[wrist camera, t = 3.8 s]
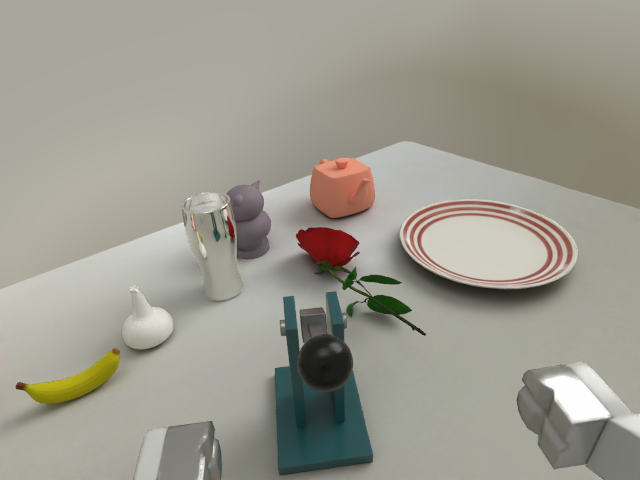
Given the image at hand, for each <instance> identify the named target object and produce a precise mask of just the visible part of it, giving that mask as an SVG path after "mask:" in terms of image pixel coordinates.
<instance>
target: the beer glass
mask: <svg viewBox="0 0 640 480" xmlns="http://www.w3.org/2000/svg"><path fill="white" fill-rule="evenodd" d="M181 207H182V212H183V219H184V226H185V231H186V235H187V238H188V242H189V244H190V247H191V249H192V252H193V254H194V256H195V258H196V260H197V262H198V264H199V267H200V269H201V272H202V275H203V291H204V295H205V296H206V297H207V298H208V299H210V300H214V301H224V300H229V299H231V298H234V297H235V296H237V295H238V294H239V293H240V292H241V291H242V289H243V281H242V279H241V276H240V274H239V271H238V267H237V227H236V221H235V216H234V212H233V209H232V205H231V201H230V197H229V196H228V195H227V194H224V193H221V192H206V193H200V194H196V195H193V196H191V197H189V198H187V199H186V200H184V201H183V203H182V205H181Z"/></svg>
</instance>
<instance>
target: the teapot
mask: <svg viewBox="0 0 640 480" xmlns="http://www.w3.org/2000/svg"><path fill="white" fill-rule="evenodd" d="M310 198H311V201H312V203H313V205H314V206H315V207H317V208H318V209H319V210H320V211H321V212H323V213H324V214H326V215H327V216H329V217H331V218H337V217H342V216H346V215H350V214H354V213H357V212H360V211H362V210H365V209H367V208H369V207H371V206H372V205H373V202H374V200H375V188H374V181H373V177H372V172H371V169H370V168H369V167H368V166H366V165H365V164H363V163H361V162H359V161H357V160H355V159H352V158H338V159H336V160H334V161H329V160H326V159H322V160H321V161H320V165H317V166H315V167H314V169H313V173H312V178H311V184H310Z"/></svg>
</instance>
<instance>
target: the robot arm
mask: <svg viewBox="0 0 640 480" xmlns="http://www.w3.org/2000/svg"><path fill="white" fill-rule="evenodd" d="M522 381H523V382H524V384H525V386H524V387H523V388H522V389H521V390H520V391H519V392H518V397H517V405H518V411H519V413H520V416H521V418H522V420H523V422H524V423H525V425H526V427H527V428H528V429H530V430H531V431H533V432H534V433H536V434H537V435H538V446H539V447H540V449H541V450H542V452H543V453H544V455H545V456H546V458H547V460H548V461H549V463H550V464H551V466H552V467H553V469H558V468H564V467H571V466H578V465H584V464H587V465H586V467H588V468H589V469H590V470H592V471H593V472H594V473H595V474H597V475H598V476H599V477H601V478H602V479H603V480H640V414H633V413H632V412H631V410H630V409H629V408H628V407H627V406H626V405H625V404H624V403H623V402H622V401H621V400H620V398H619V397H618V396H617V395H616V394H615V393H614V392H613V391H612V390H611V389H610V388H609V386H608V385H607V384H606V383H605V382H604V381H603V380H602V379H601V378H600V377H599V376H598V375H597V373H596V372H595V371H594V370H593V369H592V368H591V367H590V366H589V365H588V364H586V363H584V362H577V363H571V364H566V365H556V366H550V367H545V368H539V369H533V370H528V371H527V372H525V373H524V375H523V378H522ZM214 431H215V429H214V426H213V423H212V421H207V422H200V423H193V424H186V425H178V426H171V427H163V428H157V429H151V430H147V432H146V434H145V436H144V437H143V441H142V445H141V449H140V453H139V457H138V461H137V465H136V469H135V473H134V477H133V480H221V473H222V460H221V450H220V445H219V441H218V440H217V439H215V438H214Z"/></svg>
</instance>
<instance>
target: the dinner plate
mask: <svg viewBox="0 0 640 480" xmlns="http://www.w3.org/2000/svg"><path fill="white" fill-rule="evenodd" d="M399 235H400V241H401V244H402V246H403V248H404V249H405V251H406V252H407V253H408V255H409V256H410V257H411V258H412V259H413V260H415V261H416V262H417V263H418V264H420V265H421V266H422V267H424V268H426V269H427V270H429V271H431V272H433V273H435V274H437V275H439V276H441V277H443V278H446V279H449V280H452V281H455V282H459V283H462V284H467V285H471V286H477V287H484V288H493V289H522V288H531V287H536V286H541V285H545V284H548V283H551V282H553V281H556V280H558V279H560V278H562V277H563V276H565V275H566V274H568V273H569V272H570V271H571V270H572V268H573V267H574V265H575V263H576V261H577V258H578V251H577V246H576V243H575V242H574V240H573V238H572V237H571V235H570V234H569V233H568V232H567V231H566V230H565V229H564V228H563V227H561V226H560V225H559V224H557V223H556V222H554V221H553V220H551V219H549V218H547V217H545V216H543V215H541V214H539V213H537V212H534V211H532V210H529V209H526V208H523V207H520V206H516V205H512V204H508V203H503V202H497V201H491V200H481V199H458V200H448V201H442V202H438V203H434V204H430V205H427V206H425V207H422V208H420V209H418V210H416V211H415V212H413V213H412V214H410V215H409V216H408V217H407V218H406V219H405V220H404V222H403V223H402V225H401V228H400V234H399Z"/></svg>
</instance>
